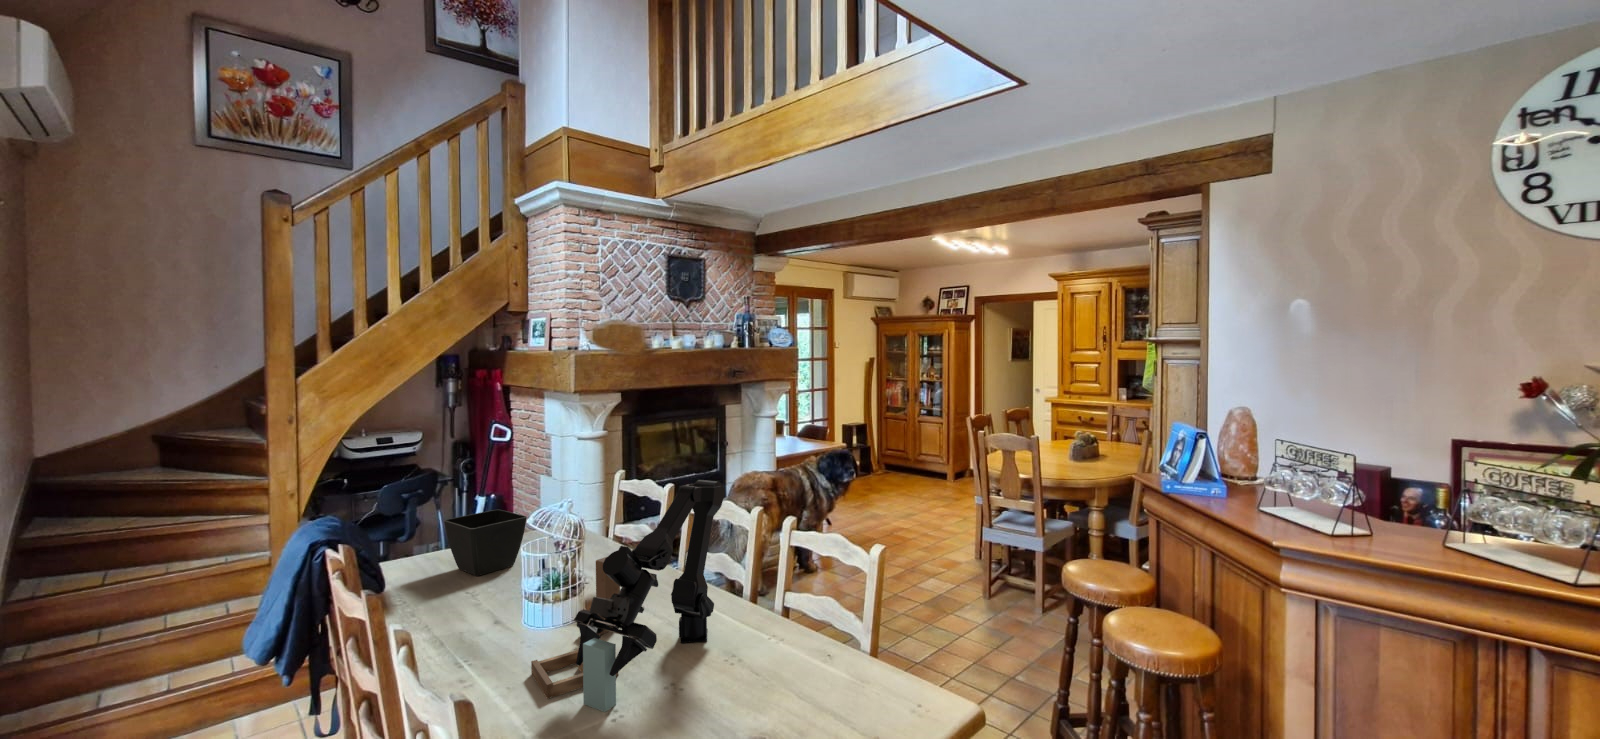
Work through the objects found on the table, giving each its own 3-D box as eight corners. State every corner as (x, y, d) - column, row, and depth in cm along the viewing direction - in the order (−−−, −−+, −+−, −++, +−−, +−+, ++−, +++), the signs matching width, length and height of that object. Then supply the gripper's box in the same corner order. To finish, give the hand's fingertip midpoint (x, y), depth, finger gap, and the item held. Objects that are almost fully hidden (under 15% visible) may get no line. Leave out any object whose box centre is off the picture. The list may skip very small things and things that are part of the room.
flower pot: (499, 554, 220) (498, 507, 220) (529, 565, 209) (528, 515, 209) (443, 570, 205) (442, 519, 204) (472, 582, 194) (471, 529, 193)
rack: (598, 653, 147) (598, 641, 147) (618, 675, 138) (618, 662, 137) (531, 674, 138) (531, 661, 138) (547, 699, 128) (547, 684, 128)
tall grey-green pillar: (594, 696, 129) (594, 637, 129) (616, 704, 126) (615, 644, 126) (583, 704, 126) (582, 643, 126) (605, 712, 124) (604, 650, 123)
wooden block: (591, 639, 155) (590, 568, 154) (580, 634, 157) (579, 564, 157) (621, 626, 162) (620, 558, 162) (610, 622, 165) (609, 555, 164)
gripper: (579, 572, 133) (537, 644, 124) (646, 587, 125) (607, 665, 115) (607, 595, 141) (569, 665, 131) (672, 610, 132) (637, 686, 123)
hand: (594, 670), depth 125 cm, fingers open, 9 cm apart
